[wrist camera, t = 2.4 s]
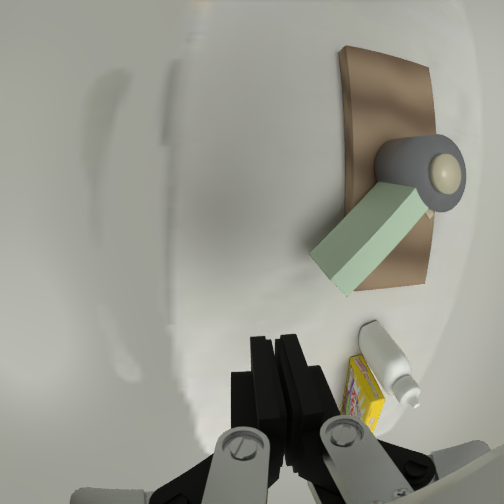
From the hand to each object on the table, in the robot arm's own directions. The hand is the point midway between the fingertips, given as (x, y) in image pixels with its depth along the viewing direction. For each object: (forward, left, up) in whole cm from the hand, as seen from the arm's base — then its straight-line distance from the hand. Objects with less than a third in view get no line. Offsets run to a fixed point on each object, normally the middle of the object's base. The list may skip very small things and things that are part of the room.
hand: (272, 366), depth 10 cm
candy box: (+23, +13, -18) cm, 31 cm away
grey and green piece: (-4, +11, -15) cm, 19 cm away
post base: (-7, +14, -17) cm, 23 cm away
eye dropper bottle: (+12, +14, -17) cm, 26 cm away
